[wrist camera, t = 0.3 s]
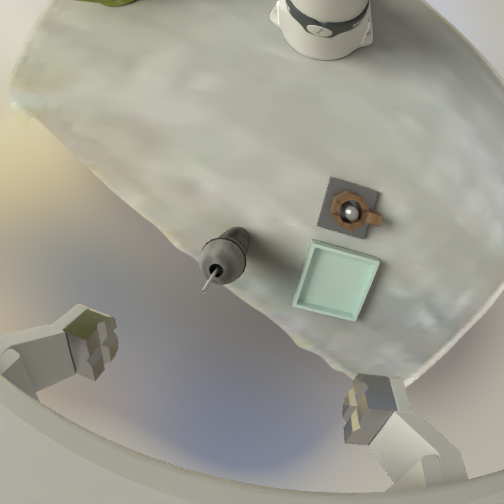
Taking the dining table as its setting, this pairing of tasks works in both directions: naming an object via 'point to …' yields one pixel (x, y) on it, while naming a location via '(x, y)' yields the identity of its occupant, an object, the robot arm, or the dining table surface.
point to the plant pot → (110, 2)
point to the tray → (335, 280)
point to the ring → (364, 212)
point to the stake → (345, 206)
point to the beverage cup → (224, 257)
